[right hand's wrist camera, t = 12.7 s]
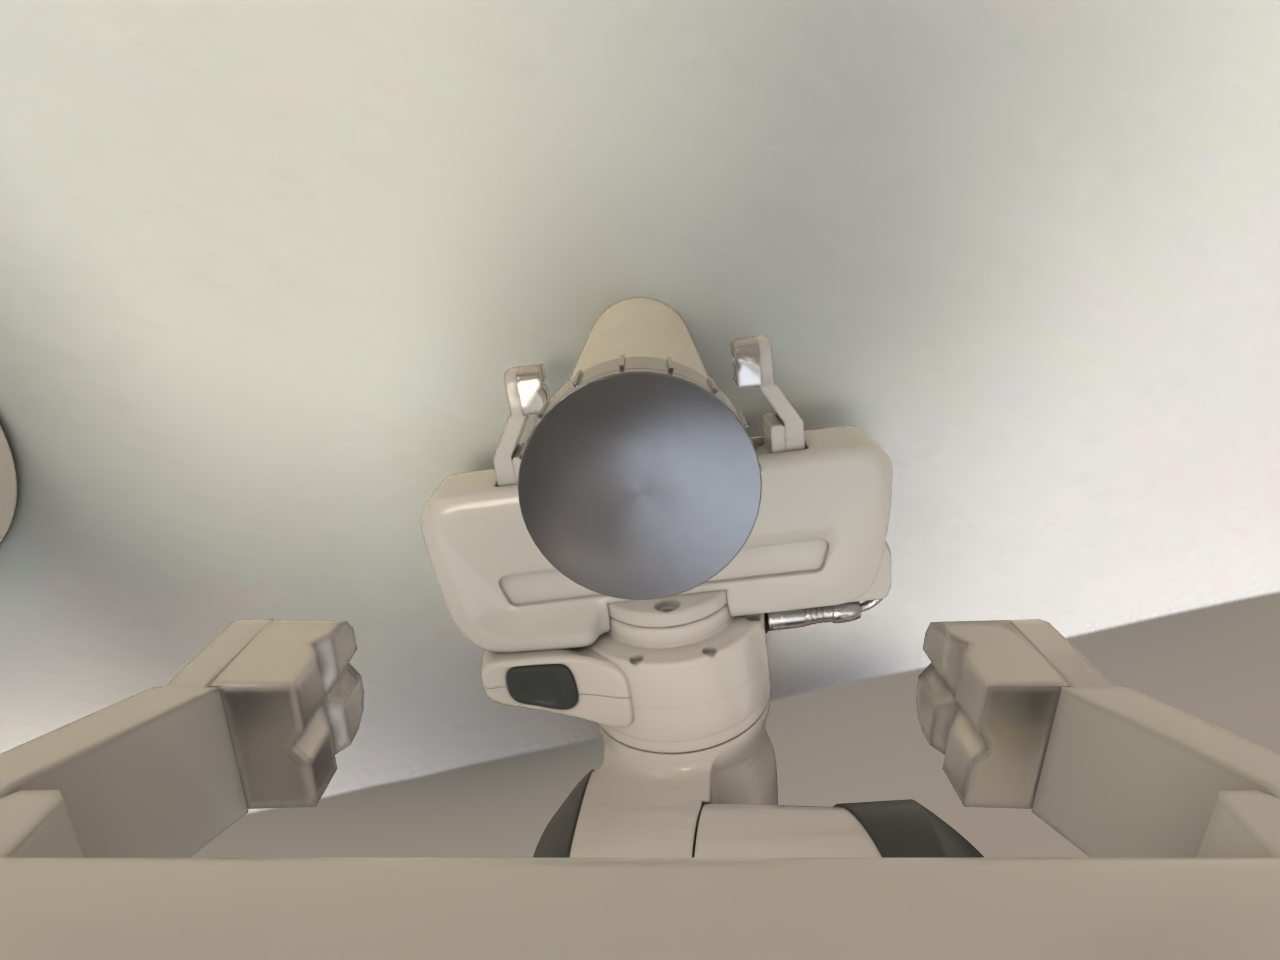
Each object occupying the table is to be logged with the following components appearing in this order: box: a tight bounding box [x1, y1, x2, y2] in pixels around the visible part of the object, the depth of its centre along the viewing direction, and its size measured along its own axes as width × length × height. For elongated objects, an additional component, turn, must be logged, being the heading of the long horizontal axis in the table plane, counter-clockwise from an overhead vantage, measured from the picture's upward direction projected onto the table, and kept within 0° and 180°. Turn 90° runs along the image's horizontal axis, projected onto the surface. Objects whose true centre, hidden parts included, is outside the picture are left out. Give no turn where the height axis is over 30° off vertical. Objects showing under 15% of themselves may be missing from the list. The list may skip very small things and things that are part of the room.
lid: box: [518, 354, 762, 600], centre depth 17 cm, size 6×6×2 cm
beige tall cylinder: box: [570, 298, 708, 380], centre depth 26 cm, size 5×5×19 cm
